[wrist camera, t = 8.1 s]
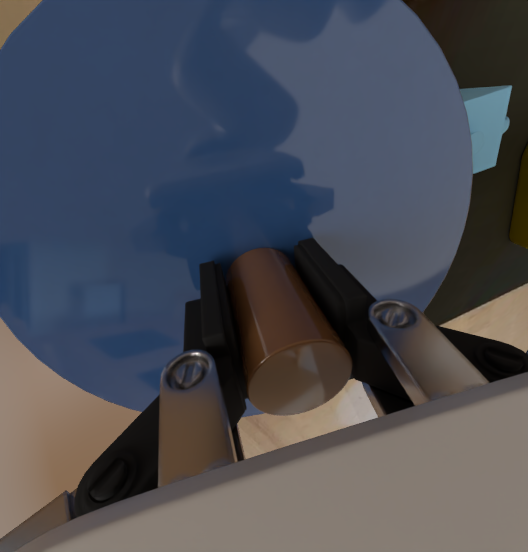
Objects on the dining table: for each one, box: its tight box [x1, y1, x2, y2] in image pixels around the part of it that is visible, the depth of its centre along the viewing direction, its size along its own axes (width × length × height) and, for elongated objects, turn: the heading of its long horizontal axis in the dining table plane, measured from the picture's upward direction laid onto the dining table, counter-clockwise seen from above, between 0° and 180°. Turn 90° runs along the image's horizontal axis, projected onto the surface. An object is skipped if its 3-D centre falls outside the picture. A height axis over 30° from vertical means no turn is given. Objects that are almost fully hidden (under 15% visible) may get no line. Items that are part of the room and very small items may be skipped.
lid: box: [0, 0, 473, 417], centre depth 9 cm, size 19×19×6 cm
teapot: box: [460, 85, 512, 174], centre depth 25 cm, size 12×6×8 cm, turn 106°
